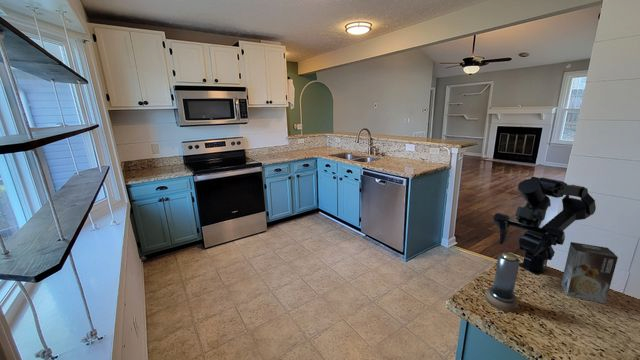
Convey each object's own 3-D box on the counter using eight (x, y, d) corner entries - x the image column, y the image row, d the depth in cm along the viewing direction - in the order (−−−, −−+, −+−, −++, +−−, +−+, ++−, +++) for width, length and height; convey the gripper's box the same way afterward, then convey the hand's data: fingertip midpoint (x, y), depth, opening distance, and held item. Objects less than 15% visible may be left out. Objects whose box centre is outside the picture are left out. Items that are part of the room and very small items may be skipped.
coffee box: (596, 292, 86) (609, 247, 81) (605, 304, 80) (620, 257, 76) (559, 284, 90) (570, 241, 86) (566, 295, 84) (577, 250, 80)
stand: (498, 289, 88) (499, 284, 87) (524, 307, 80) (525, 301, 79) (478, 295, 85) (479, 290, 85) (503, 314, 78) (504, 308, 77)
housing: (507, 289, 85) (514, 250, 81) (519, 303, 79) (528, 261, 75) (486, 288, 86) (492, 249, 82) (496, 302, 79) (504, 261, 76)
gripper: (499, 190, 92) (480, 228, 89) (570, 205, 77) (551, 251, 74) (505, 206, 99) (487, 242, 95) (572, 223, 84) (554, 266, 81)
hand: (516, 249), depth 86 cm, fingers open, 9 cm apart
